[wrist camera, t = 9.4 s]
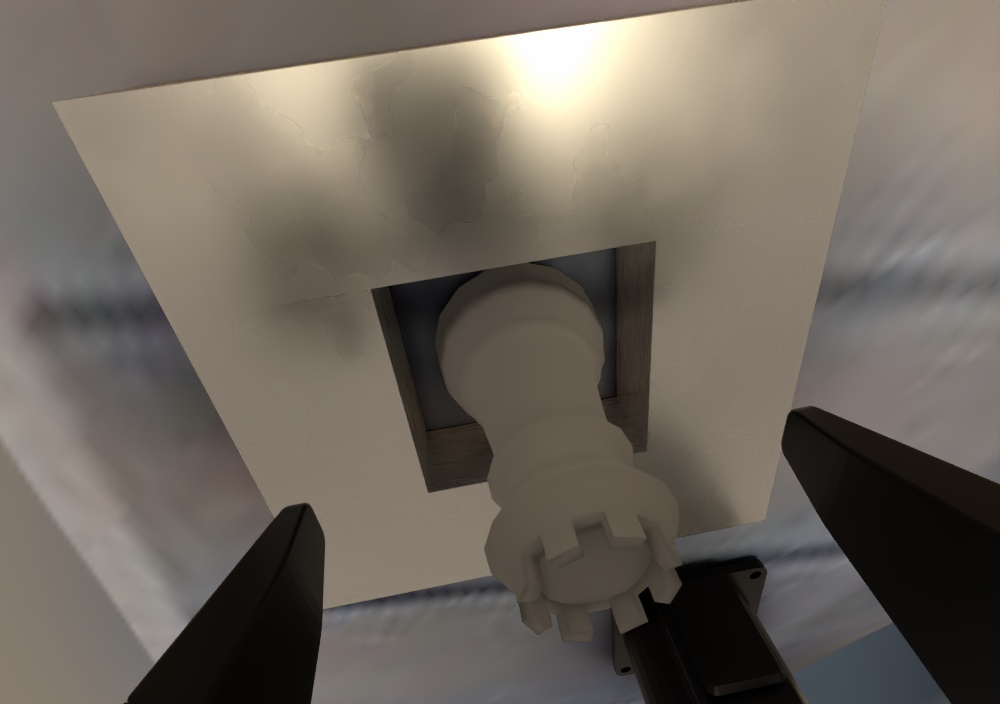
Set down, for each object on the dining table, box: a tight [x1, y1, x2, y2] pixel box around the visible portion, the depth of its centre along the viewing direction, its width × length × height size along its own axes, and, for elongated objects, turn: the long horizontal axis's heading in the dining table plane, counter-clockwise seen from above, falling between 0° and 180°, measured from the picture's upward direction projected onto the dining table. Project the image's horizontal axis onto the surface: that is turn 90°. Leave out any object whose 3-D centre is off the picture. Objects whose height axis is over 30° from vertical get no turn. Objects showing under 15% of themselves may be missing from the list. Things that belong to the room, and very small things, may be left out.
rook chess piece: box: [434, 263, 683, 642], centre depth 11 cm, size 4×4×8 cm
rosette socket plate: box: [52, 0, 887, 609], centre depth 13 cm, size 14×14×2 cm
